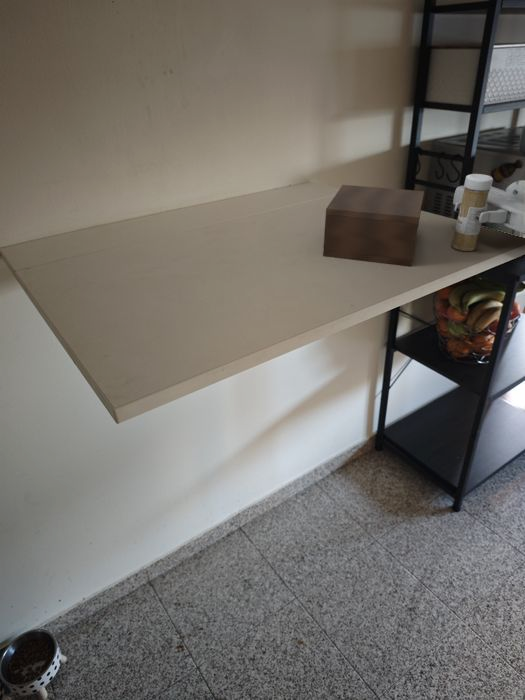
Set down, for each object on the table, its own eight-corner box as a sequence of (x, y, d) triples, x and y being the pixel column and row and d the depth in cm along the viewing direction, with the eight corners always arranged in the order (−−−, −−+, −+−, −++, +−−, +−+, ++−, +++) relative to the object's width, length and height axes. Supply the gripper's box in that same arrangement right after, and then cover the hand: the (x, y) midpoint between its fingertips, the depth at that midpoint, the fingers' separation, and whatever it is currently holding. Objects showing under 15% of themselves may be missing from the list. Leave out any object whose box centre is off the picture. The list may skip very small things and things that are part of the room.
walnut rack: (416, 235, 102) (424, 191, 97) (410, 266, 89) (419, 217, 84) (339, 227, 106) (342, 184, 101) (322, 255, 93) (326, 208, 88)
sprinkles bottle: (448, 242, 98) (463, 172, 91) (472, 243, 98) (489, 173, 90) (453, 251, 94) (469, 179, 87) (478, 252, 94) (496, 180, 87)
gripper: (489, 174, 102) (434, 181, 98) (575, 201, 87) (514, 211, 82) (482, 204, 106) (429, 212, 102) (563, 236, 90) (504, 247, 86)
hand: (467, 212), depth 92 cm, fingers closed on sprinkles bottle, 4 cm apart
